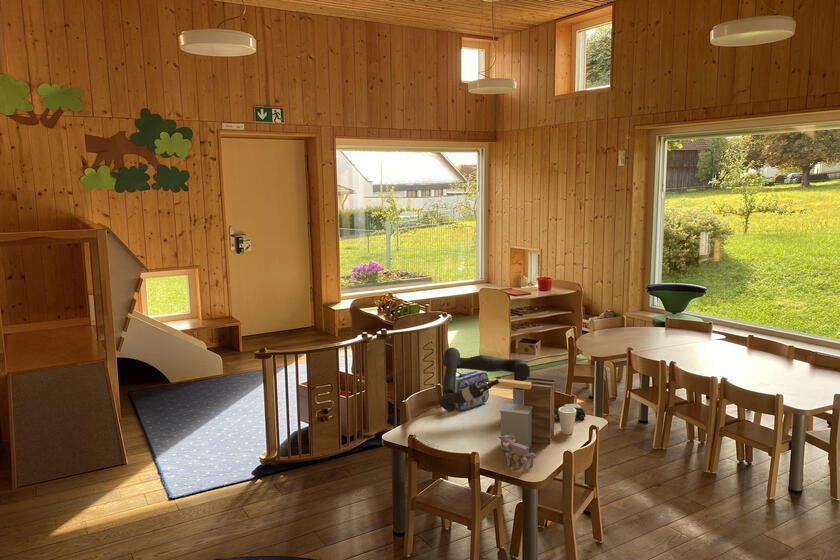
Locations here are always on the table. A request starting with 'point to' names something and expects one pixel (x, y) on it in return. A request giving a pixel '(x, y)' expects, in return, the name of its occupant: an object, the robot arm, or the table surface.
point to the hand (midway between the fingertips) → (499, 379)
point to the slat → (512, 383)
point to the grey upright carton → (517, 423)
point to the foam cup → (567, 419)
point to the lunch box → (466, 381)
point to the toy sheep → (516, 451)
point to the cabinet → (541, 408)
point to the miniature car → (579, 411)
